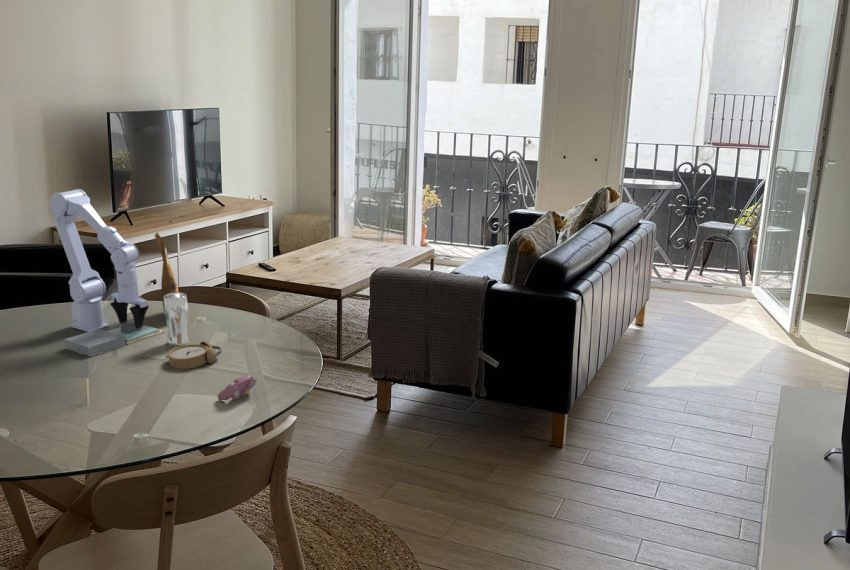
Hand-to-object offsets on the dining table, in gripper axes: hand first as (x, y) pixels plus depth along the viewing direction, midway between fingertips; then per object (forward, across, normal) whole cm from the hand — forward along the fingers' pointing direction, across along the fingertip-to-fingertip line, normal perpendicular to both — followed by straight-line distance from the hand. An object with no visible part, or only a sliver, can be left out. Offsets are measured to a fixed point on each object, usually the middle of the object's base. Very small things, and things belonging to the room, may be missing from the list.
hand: (131, 325), depth 259 cm
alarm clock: (+3, +34, -5) cm, 35 cm away
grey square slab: (+3, +1, -14) cm, 14 cm away
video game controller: (+3, +63, -16) cm, 65 cm away
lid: (+3, 0, 0) cm, 3 cm away
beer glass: (+3, +18, +3) cm, 19 cm away
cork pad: (+3, 0, 0) cm, 3 cm away
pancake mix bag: (+3, -4, +19) cm, 20 cm away
